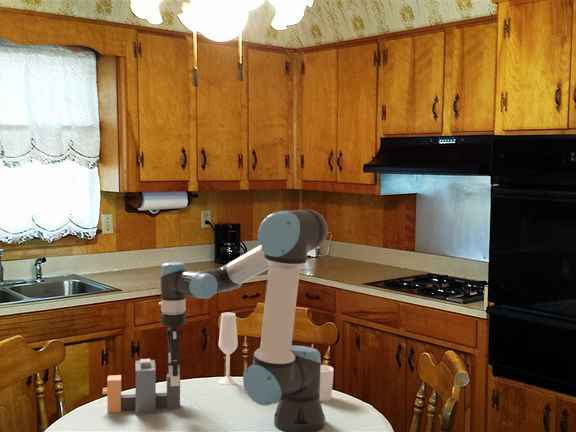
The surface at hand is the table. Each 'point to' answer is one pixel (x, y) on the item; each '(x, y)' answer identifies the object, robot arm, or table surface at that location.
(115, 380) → the grey orange-ended bar
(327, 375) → the white cup
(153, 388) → the grey u-shaped bracket
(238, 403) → the table surface
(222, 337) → the champagne flute
